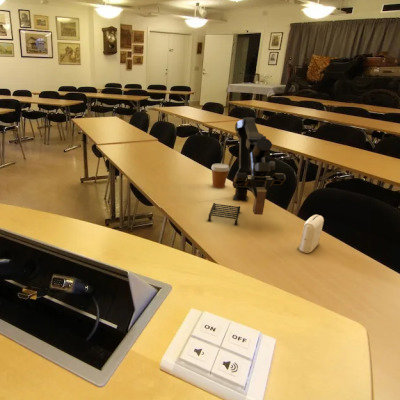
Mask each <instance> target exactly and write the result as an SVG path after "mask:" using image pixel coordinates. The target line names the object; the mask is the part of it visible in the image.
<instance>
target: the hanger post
mask: <svg viewBox="0 0 400 400" xmlns="http://www.w3.org/2000/svg"><path fill="white" fill-rule="evenodd" d="M256 191H257V198H255V197H254V198H253V207H252V213H253V215H261V216H263V215H264V209H265V201H266V199H265V197H266V192H267V190H266V189H265V187H263V186H256ZM266 198H267V197H266Z"/></svg>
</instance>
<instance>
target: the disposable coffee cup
mask: <svg viewBox="0 0 400 400" xmlns="http://www.w3.org/2000/svg"><path fill="white" fill-rule="evenodd" d="M229 166H230V165H229V164H226V163H213V164H212V165H211V167H210V168H211V176H212V177H211V178H212V179H211V180H212V187H213V188H215V189H224V188H225V186H226V182H227V178H228V173H229V170H230V167H229Z"/></svg>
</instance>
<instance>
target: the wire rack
mask: <svg viewBox="0 0 400 400" xmlns="http://www.w3.org/2000/svg"><path fill="white" fill-rule="evenodd" d="M240 213H241V206H240V205H238V206H236V205H235V206H234V205H227V204H220V203H216V202H213V203H212V206H211V208H210V210H209V213H208V218H207V222H211V221H212V217H219V218H224V219H225V218H226V219H233V220H234V226H238V222H239V221H238V220H239V215H240Z"/></svg>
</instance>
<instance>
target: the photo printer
mask: <svg viewBox="0 0 400 400" xmlns="http://www.w3.org/2000/svg"><path fill="white" fill-rule="evenodd" d="M324 222H325V218H324V217H323V216H322V215H319V214H313V215H311V216H310V217H309V218H308V219H307V220H305V222H304V225H303V228H302V232H301V238H300V242H299V245H298V249H299V251H300V252H302V253H306V254H308V253H311V252H313V251H314V250H315V248H316V247H317V246H318V245H319V242H320V239H321V235H322V230H323V226H324Z"/></svg>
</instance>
